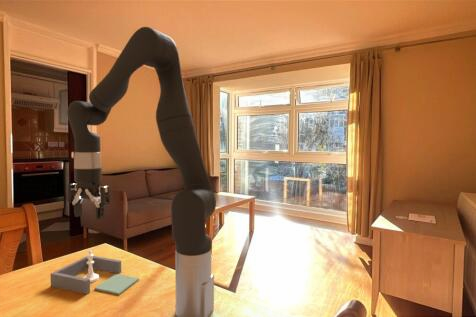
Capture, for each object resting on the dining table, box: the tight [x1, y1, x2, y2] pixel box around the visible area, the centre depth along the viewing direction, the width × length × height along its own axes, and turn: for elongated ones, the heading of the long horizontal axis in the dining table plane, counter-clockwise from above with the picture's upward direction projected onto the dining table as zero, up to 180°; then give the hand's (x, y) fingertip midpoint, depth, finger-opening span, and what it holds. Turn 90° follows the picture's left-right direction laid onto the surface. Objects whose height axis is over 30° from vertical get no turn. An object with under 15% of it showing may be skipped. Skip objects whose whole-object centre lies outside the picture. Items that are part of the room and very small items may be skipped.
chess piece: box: [82, 248, 100, 284], centre depth 88 cm, size 5×5×10 cm
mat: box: [94, 273, 140, 296], centre depth 85 cm, size 9×9×1 cm
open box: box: [50, 255, 122, 295], centre depth 89 cm, size 14×14×4 cm
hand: (88, 217), depth 87 cm, fingers open, 8 cm apart
